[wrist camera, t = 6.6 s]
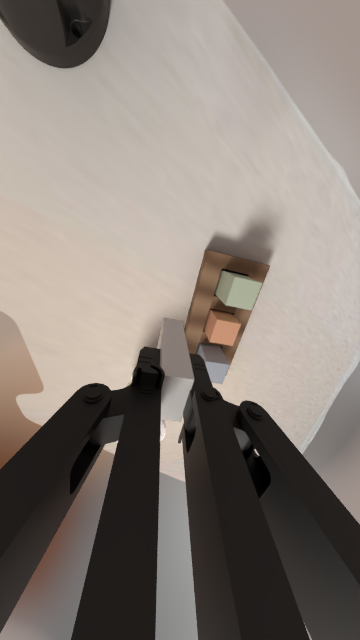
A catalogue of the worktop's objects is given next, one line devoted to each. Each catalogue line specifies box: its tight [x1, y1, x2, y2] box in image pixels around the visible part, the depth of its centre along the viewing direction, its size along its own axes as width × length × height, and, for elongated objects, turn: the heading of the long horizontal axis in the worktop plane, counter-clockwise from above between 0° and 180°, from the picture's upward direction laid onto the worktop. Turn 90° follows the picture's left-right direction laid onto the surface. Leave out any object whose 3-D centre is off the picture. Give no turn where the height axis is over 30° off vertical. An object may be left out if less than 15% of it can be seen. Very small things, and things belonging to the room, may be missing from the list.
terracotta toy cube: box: [204, 308, 241, 346], centre depth 39 cm, size 5×5×8 cm
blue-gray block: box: [196, 343, 230, 384], centre depth 41 cm, size 5×5×8 cm
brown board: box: [184, 250, 270, 374], centre depth 42 cm, size 28×13×3 cm, turn 167°
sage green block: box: [215, 270, 262, 310], centre depth 35 cm, size 5×5×8 cm
